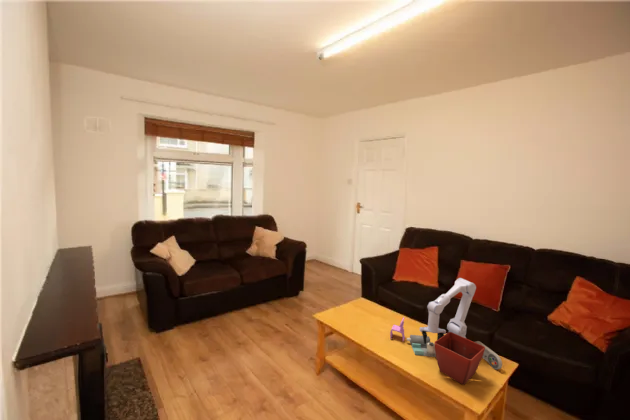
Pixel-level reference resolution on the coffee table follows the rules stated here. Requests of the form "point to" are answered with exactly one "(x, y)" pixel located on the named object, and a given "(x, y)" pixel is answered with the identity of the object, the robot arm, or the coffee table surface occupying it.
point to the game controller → (491, 357)
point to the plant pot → (458, 356)
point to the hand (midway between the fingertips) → (431, 343)
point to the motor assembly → (419, 345)
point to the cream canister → (430, 348)
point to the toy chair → (398, 329)
